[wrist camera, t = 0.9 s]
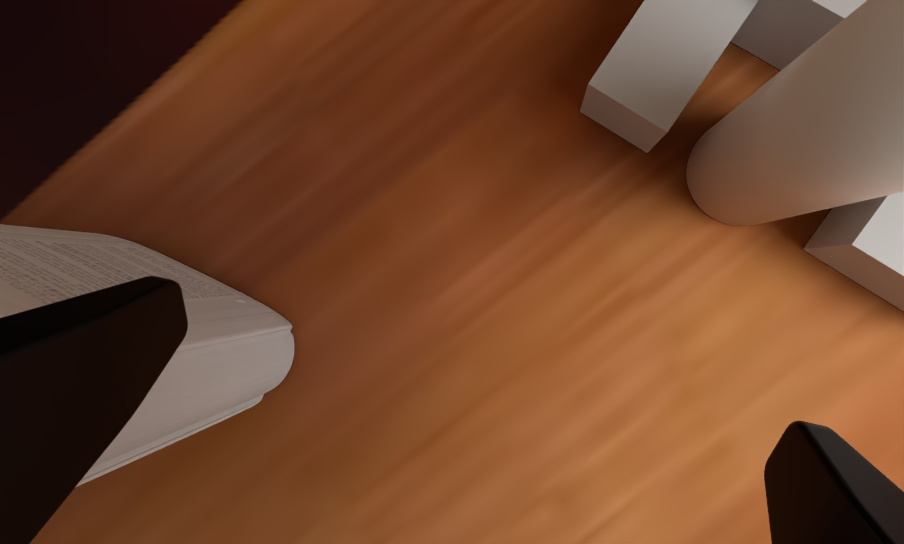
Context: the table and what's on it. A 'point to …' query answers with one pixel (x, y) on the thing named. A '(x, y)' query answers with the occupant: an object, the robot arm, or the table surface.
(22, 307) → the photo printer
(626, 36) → the cable duct
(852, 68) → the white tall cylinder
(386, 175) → the table surface
